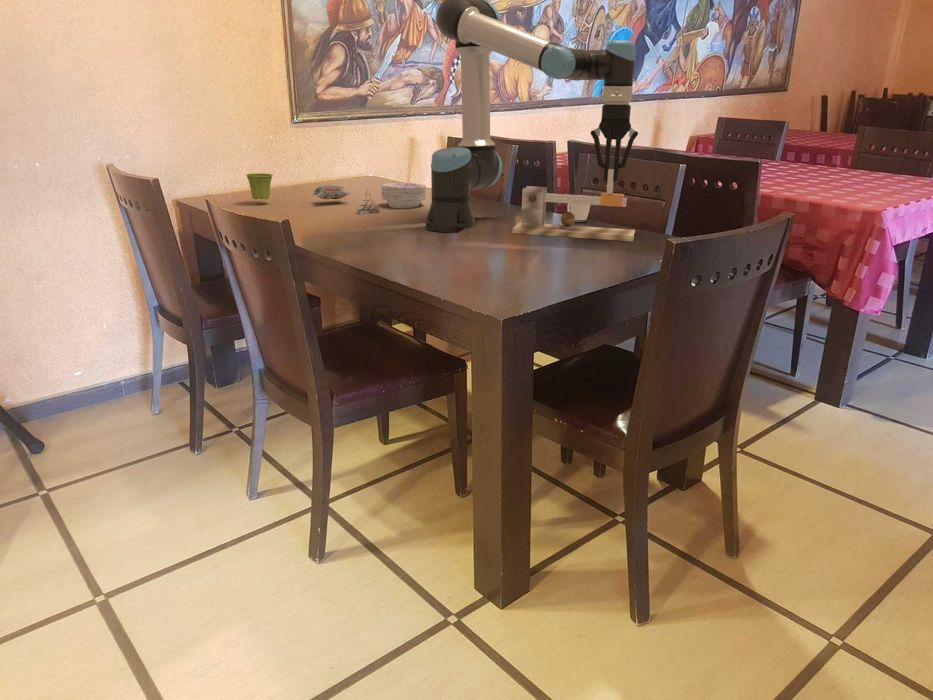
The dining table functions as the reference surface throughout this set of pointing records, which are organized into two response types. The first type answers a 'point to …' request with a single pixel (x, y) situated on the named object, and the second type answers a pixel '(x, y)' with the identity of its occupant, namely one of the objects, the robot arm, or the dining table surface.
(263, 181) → the plant pot
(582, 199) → the lever
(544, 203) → the press base
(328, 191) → the packaged food
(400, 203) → the paper bowls
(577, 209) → the cup
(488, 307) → the dining table surface
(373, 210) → the house of cards
